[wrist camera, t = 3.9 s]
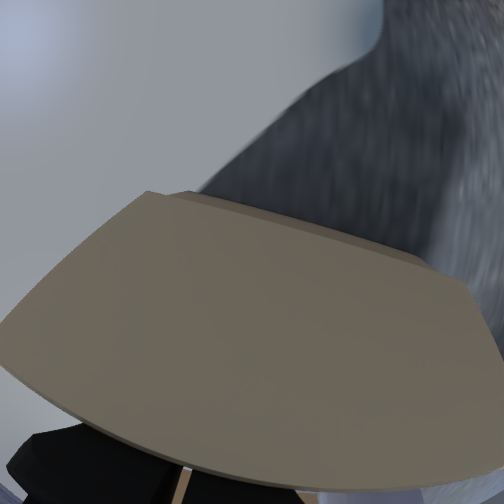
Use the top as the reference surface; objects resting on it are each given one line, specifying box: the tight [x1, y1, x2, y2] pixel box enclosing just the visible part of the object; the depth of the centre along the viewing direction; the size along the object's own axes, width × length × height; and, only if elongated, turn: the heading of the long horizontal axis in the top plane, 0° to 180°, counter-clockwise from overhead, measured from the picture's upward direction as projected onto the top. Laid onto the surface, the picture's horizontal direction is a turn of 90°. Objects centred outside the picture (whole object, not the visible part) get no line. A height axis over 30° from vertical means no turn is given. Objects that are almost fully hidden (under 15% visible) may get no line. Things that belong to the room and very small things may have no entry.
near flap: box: [0, 191, 504, 493], centre depth 7 cm, size 14×8×1 cm
